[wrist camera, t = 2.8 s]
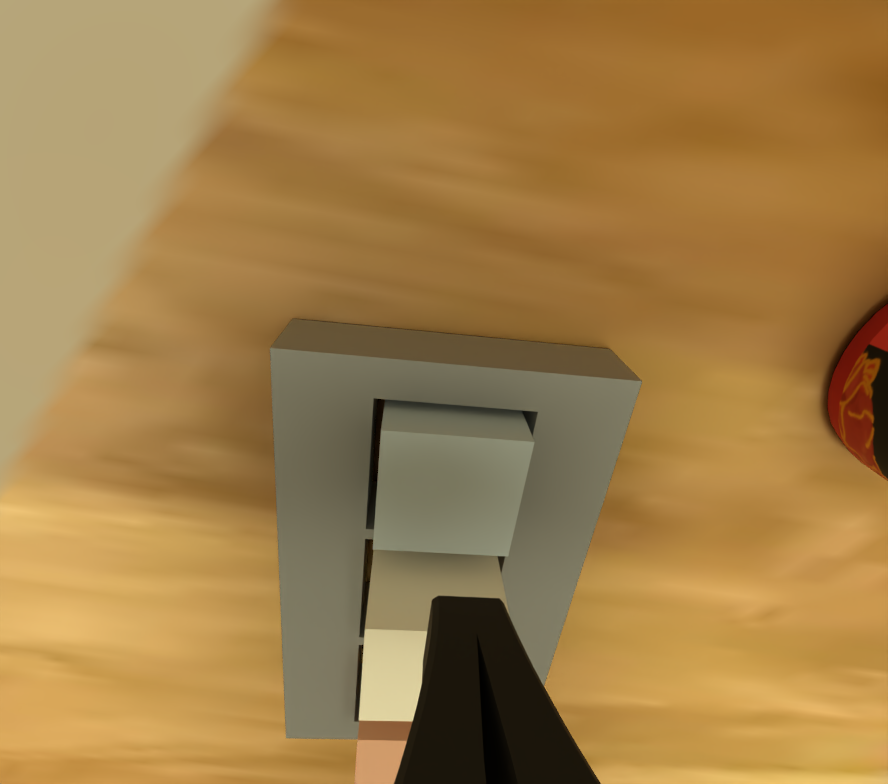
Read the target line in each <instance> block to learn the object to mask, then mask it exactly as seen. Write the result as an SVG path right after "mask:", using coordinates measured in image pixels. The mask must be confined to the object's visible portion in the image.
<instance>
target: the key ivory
mask: <svg viewBox="0 0 888 784" xmlns="http://www.w3.org/2000/svg"><path fill="white" fill-rule="evenodd" d="M437 596H460V597H482V598H500V599H501V600H502V602H503V603H504V605H505V607H506V609H507V612H508V614H509V611H508V606H507V601H506V596H505V591H504V586H503V581H502V576H501V571H500V566H499V561H498V556H488V555H469V554H450V553H431V552H412V551H393V550H374V552H373V561H372V570H371V579H370V588H369V597H368V605H367V614H366V623H365V634H364V649H363V664H362V679H361V694H360V709H359V720H362V721H413V718H414V714H415V711H416V707H417V703H418V698H419V694H420V689H421V685H422V670H423V656H424V650H425V643H426V636H427V629H428V622H429V616H430V609H431V602H432V599H433V598H435V597H437Z"/></svg>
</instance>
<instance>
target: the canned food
mask: <svg viewBox="0 0 888 784" xmlns="http://www.w3.org/2000/svg"><path fill="white" fill-rule="evenodd" d="M828 412H829V417H830V421H831V424H832V426H833V428H834V429H835V431H836V433H837V435H838V436H839V438H840V439H841V440H842V442H843V443H844V445H845V446H846V447H847V449H848V450H849V452H850V453H852V454H853V455H854V456H855V457H856V458H857V459H858V460H859V461H860V462H861V463H863V464H864V465H866V466H867V467H869V468H870V469H871V470H873V471H874V472H876V473H877V474H879V475H880V476H882V477H883V478H884V479H886V480H887V481H888V304H887V305H885V306H884V307H883V308H882V309H880V310H879V311H878V312H877V313H876V314H875V315H874V316H873V317H872V318H871V319H870V320H869V321H868V322H867V323H866V324H865V325H864V326H863V327H862V328H861V330H860V331H859V332H858V333H857V334H856V336H855V337H854V338H853V340H852V341H851V343H850V344H849V345H848V347H847V348H846V350H845V351H844V353H843V355H842V357H841V359H840V361H839V363H838V365H837V367H836V369H835V371H834V373H833V377H832V380H831V384H830V387H829V392H828Z"/></svg>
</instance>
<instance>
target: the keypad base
mask: <svg viewBox="0 0 888 784" xmlns="http://www.w3.org/2000/svg"><path fill="white" fill-rule="evenodd" d="M270 360H271V384H272V409H273V433H274V457H275V481H276V506H277V530H278V554H279V578H280V603H281V627H282V651H283V676H284V700H285V724H286V738H303V739H358V730H359V709H360V694H361V679H362V664H363V663H361V651H362V645H364V634H365V623H366V614H367V605H368V597H369V588H370V582H366V573H367V557H368V542H369V539H373V538H374V524H375V509H376V495H377V481H372V480H373V464H374V449H375V433H376V417H377V402H378V399H388V400H400V401H412V402H425V403H437V404H449V405H461V406H474V407H486V408H498V409H510V410H522V412H523V415H524V417H525V420H526V422H527V425H528V427H529V429H530V432H531V434H532V437H533V439H534V447H533V451H532V455H531V460H530V464H529V468H528V473H527V477H526V481H525V486H524V490H523V494H522V499H521V503H520V507H519V512H518V516H517V520H516V525H515V529H514V533H513V538H512V542H511V546H510V551H509V555H508V557H507V556H498V561H499V566H500V571H501V576H502V581H503V586H504V591H505V596H506V601H507V606H508V611H509V616H510V619H511V621H512V623H513V625H514V628H515V630H516V632H517V634H518V636H519V638H520V640H521V642H522V645H523V647H524V649H525V651H526V653H527V655H528V657H529V659H530V661H531V663H532V665H533V667H534V669H535V671H536V673H537V674H538V676H539V678H540V680H541V682H542V684H543V686H544V684H545V681H546V678H547V675H548V672H549V669H550V666H551V662H552V659H553V656H554V653H555V650H556V647H557V644H558V641H559V638H560V635H561V631H562V628H563V625H564V622H565V619H566V616H567V613H568V610H569V607H570V604H571V600H572V597H573V594H574V591H575V588H576V585H577V582H578V579H579V576H580V573H581V570H582V566H583V563H584V560H585V557H586V554H587V551H588V548H589V545H590V542H591V539H592V535H593V532H594V529H595V526H596V523H597V520H598V517H599V514H600V511H601V508H602V504H603V501H604V498H605V495H606V492H607V489H608V486H609V483H610V480H611V477H612V474H613V470H614V467H615V464H616V461H617V458H618V455H619V452H620V449H621V446H622V443H623V439H624V436H625V433H626V430H627V427H628V424H629V421H630V418H631V415H632V412H633V408H634V405H635V402H636V399H637V396H638V393H639V390H640V387H641V384H642V381H641V380H640V379H639V378H638V377H637V376H636V375H635V374H634V373H633V372H632V371H631V370H630V369H629V368H628V367H627V366H626V365H625V364H624V363H623V362H622V361H621V360H620V359H619V358H618V357H617V356H616V355H615V354H614V353H613V352H612V351H611V350H610V349H605V348H595V347H584V346H574V345H563V344H553V343H542V342H532V341H522V340H511V339H501V338H490V337H480V336H469V335H459V334H448V333H438V332H427V331H417V330H406V329H396V328H386V327H375V326H365V325H354V324H344V323H333V322H323V321H312V320H302V319H292V320H291V321H290V323H289V324H288V325H287V327H286V328H285V329H284V331H283V332H282V333H281V334H280V336H279V337H278V338H277V340H276V341H275V342H274V343H273V345H272V346H271V347H270Z"/></svg>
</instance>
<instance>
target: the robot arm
mask: <svg viewBox="0 0 888 784" xmlns="http://www.w3.org/2000/svg"><path fill="white" fill-rule="evenodd" d="M394 784H601V783H600V782H599V780H598V779H597V777H596V775H595V774H594V772H593V770H592V769H591V767H590V766H589V764H588V762H587V761H586V759H585V757H584V756H583V754H582V753H581V751H580V749H579V748H578V746H577V744H576V743H575V741H574V739H573V738H572V736H571V734H570V732H569V731H568V729H567V727H566V726H565V724H564V722H563V720H562V718H561V717H560V715H559V713H558V711H557V709H556V708H555V706H554V704H553V702H552V700H551V699H550V697H549V695H548V693H547V691H546V690H545V688H544V686H543V684H542V682H541V680H540V678H539V676H538V674H537V673H536V671H535V669H534V667H533V665H532V663H531V661H530V659H529V657H528V655H527V653H526V651H525V649H524V647H523V645H522V642H521V640H520V638H519V636H518V634H517V632H516V630H515V628H514V625H513V623H512V621H511V619H510V616H509V614H508V612H507V609H506V607H505V605H504V603H503V602H502V600H501V599H500V598H482V597H460V596H437V597H435V598H433V599H432V602H431V609H430V616H429V622H428V629H427V636H426V643H425V650H424V656H423V670H422V685H421V689H420V694H419V698H418V703H417V707H416V711H415V714H414V718H413V722H412V725H411V729H410V732H409V735H408V739H407V742H406V746H405V749H404V753H403V756H402V759H401V763H400V766H399V769H398V773H397V776H396V779H395V782H394Z"/></svg>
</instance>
